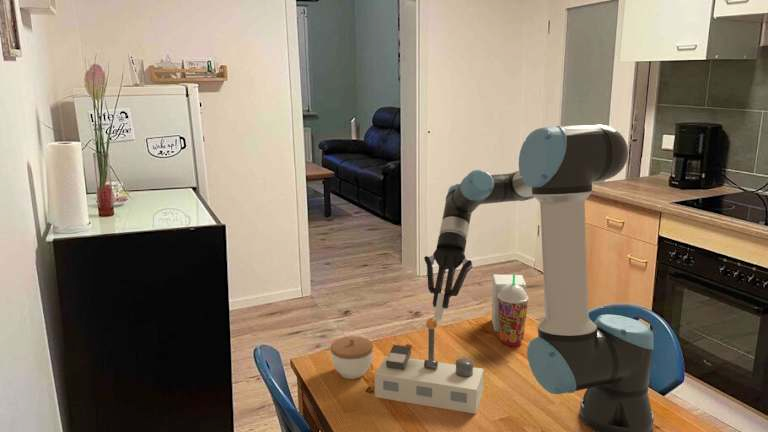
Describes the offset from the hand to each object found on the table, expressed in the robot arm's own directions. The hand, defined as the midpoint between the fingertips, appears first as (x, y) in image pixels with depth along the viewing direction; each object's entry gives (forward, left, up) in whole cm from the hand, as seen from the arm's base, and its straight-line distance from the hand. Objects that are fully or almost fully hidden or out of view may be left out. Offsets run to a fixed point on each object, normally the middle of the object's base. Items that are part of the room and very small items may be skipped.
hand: (437, 319), depth 148 cm
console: (-8, +7, -14) cm, 18 cm away
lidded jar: (+10, +19, -15) cm, 26 cm away
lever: (-7, +6, -8) cm, 12 cm away
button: (-13, +1, -8) cm, 16 cm away
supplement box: (+14, -34, -15) cm, 39 cm away
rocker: (-2, +12, -7) cm, 14 cm away
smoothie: (+5, -28, -15) cm, 32 cm away
